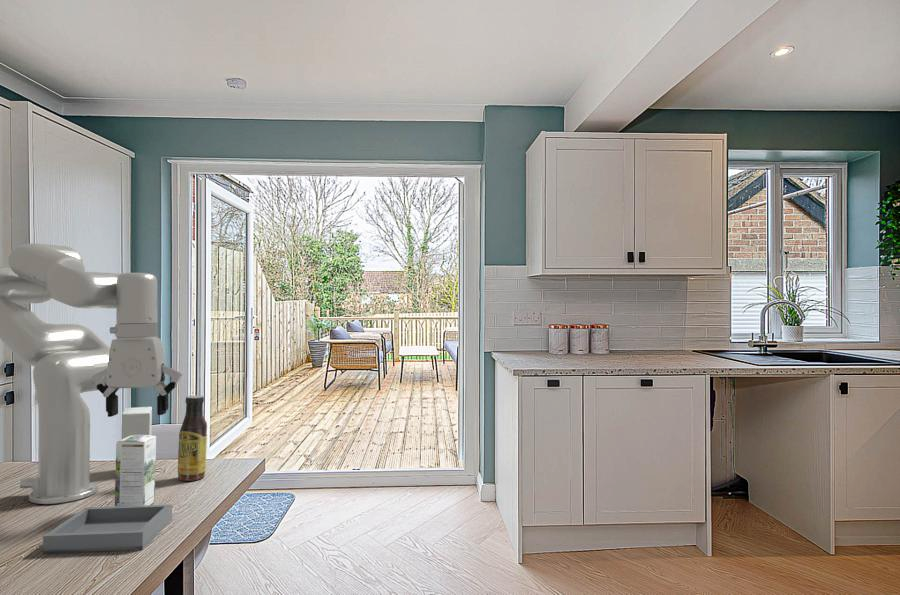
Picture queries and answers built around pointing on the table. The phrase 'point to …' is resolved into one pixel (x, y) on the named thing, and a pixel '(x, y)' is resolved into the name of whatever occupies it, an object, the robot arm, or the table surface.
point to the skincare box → (136, 421)
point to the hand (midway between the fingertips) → (137, 414)
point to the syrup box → (135, 471)
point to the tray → (108, 529)
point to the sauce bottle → (192, 441)
